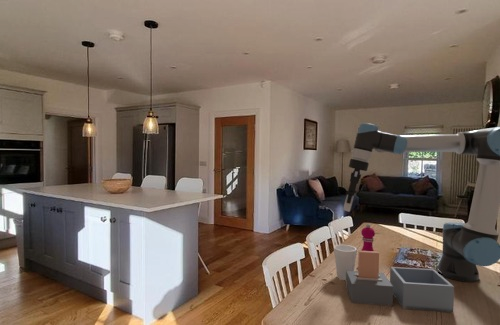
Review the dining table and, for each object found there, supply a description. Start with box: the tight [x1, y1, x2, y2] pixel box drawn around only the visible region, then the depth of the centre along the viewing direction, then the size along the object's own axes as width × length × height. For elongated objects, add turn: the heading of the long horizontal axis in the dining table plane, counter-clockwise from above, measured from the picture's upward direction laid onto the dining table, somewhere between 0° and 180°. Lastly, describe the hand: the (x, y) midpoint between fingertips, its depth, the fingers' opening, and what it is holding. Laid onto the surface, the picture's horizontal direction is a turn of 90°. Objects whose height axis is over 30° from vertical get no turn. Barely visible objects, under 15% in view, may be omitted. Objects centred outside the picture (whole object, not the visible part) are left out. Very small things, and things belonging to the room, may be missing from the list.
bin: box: [389, 266, 455, 313], centre depth 110 cm, size 16×15×9 cm
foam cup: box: [333, 244, 358, 282], centre depth 130 cm, size 10×9×13 cm
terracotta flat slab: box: [357, 250, 380, 279], centre depth 113 cm, size 7×2×15 cm, turn 81°
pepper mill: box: [360, 224, 376, 251], centre depth 143 cm, size 7×7×20 cm
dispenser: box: [345, 270, 394, 306], centre depth 113 cm, size 14×12×8 cm
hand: (347, 208), depth 128 cm, fingers open, 13 cm apart
